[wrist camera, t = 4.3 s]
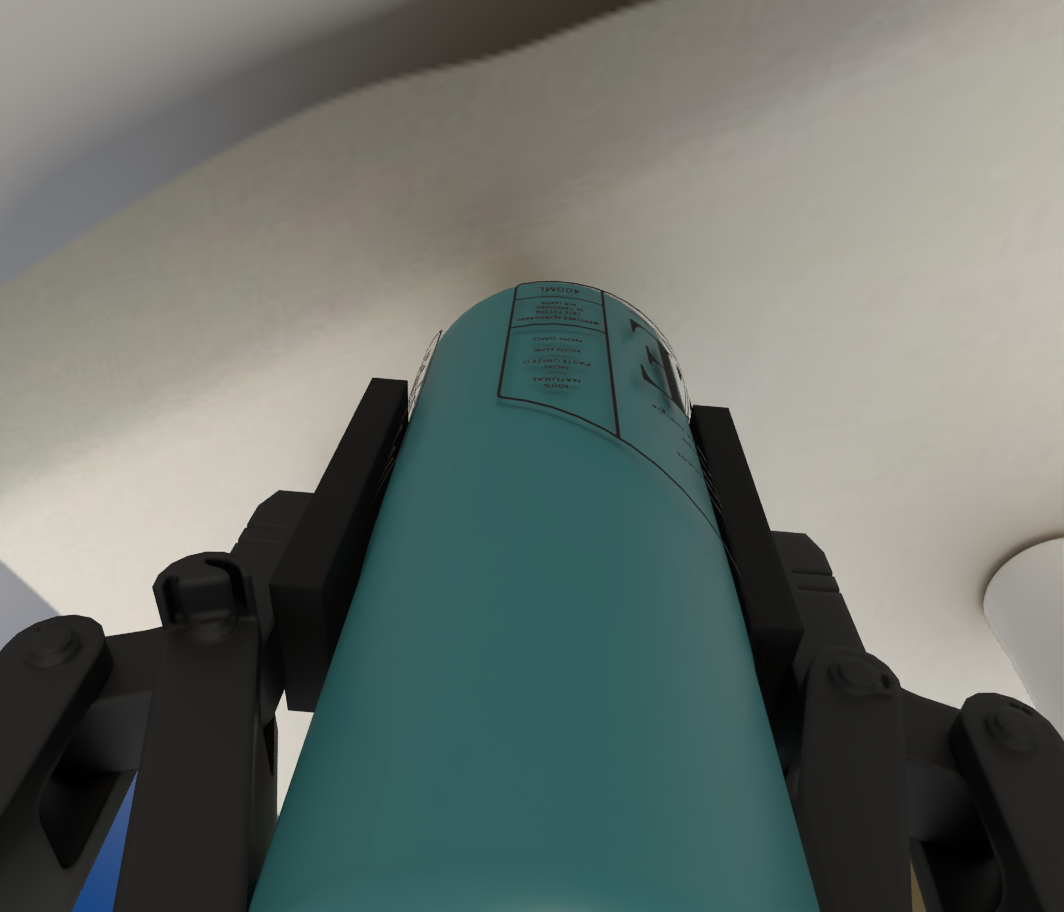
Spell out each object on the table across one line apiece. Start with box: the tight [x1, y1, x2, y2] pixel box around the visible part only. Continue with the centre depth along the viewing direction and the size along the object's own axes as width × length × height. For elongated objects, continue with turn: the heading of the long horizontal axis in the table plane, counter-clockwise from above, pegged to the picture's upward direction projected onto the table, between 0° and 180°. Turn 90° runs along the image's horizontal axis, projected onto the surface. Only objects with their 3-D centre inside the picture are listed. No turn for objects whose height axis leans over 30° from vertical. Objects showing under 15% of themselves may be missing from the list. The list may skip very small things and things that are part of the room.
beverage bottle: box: [248, 281, 820, 912], centre depth 12 cm, size 6×7×20 cm
